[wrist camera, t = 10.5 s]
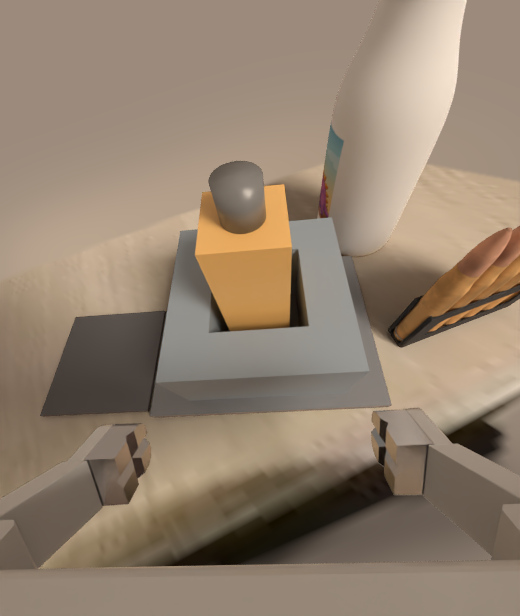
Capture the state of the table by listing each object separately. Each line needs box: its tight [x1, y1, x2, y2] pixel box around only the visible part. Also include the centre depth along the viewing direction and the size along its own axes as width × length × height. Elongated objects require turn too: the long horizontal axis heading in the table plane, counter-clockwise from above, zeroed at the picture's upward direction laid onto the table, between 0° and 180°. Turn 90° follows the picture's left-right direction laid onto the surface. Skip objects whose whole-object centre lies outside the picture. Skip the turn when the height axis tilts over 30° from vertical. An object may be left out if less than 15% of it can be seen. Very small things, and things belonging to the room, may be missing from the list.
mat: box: [40, 311, 166, 416], centre depth 23 cm, size 9×9×1 cm
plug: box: [195, 161, 292, 331], centre depth 16 cm, size 4×4×14 cm
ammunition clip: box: [388, 226, 520, 347], centre depth 17 cm, size 11×2×12 cm, turn 109°
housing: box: [150, 217, 391, 418], centre depth 20 cm, size 18×14×7 cm
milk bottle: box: [317, 0, 467, 257], centre depth 19 cm, size 8×8×20 cm
